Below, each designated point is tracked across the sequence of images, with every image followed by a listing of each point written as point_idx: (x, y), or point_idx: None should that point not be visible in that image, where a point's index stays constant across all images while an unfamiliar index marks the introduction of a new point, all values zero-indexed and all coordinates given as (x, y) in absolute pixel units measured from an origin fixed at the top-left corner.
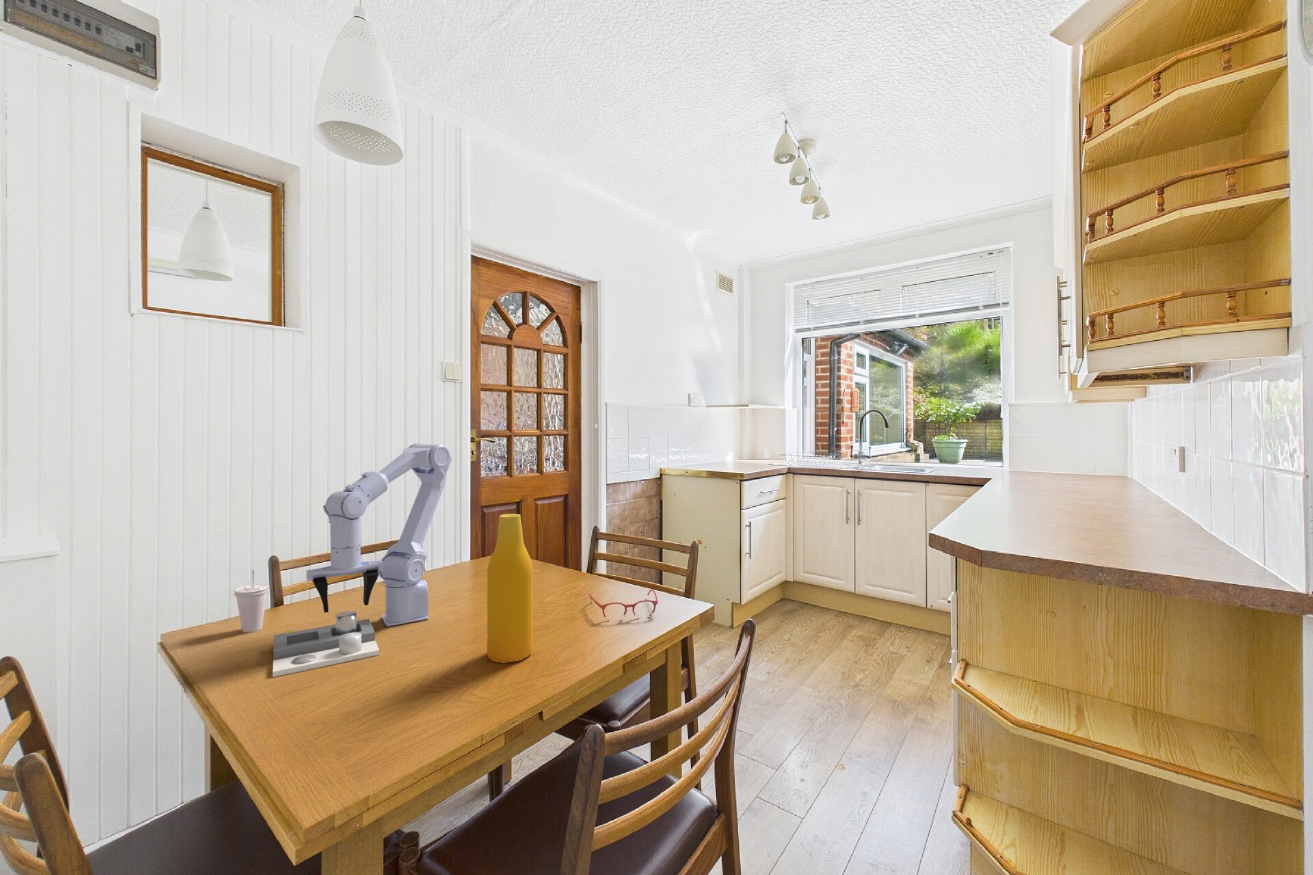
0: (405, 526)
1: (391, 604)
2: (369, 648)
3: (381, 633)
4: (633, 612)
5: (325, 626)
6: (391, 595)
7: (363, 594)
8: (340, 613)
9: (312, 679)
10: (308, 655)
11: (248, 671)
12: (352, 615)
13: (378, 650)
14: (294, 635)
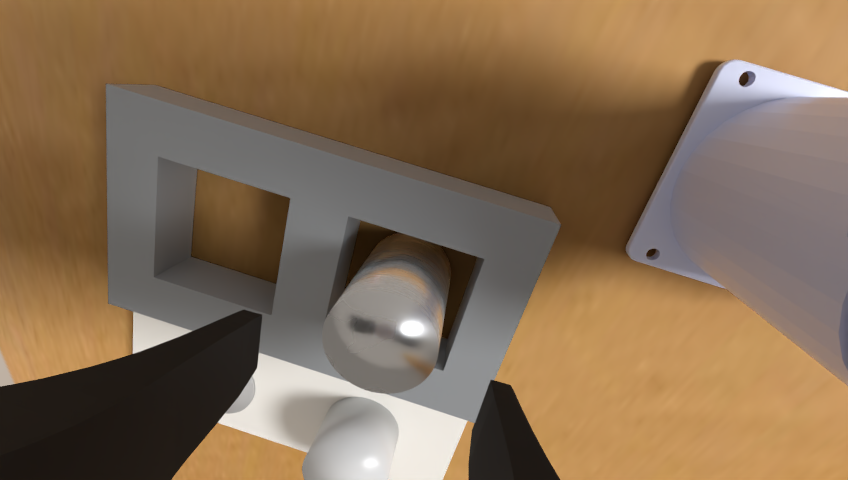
0: None
1: (734, 277)
2: (418, 460)
3: (557, 305)
4: None
5: (338, 156)
6: (783, 311)
7: (500, 416)
8: (358, 305)
9: (235, 475)
10: None
11: (81, 280)
12: (397, 391)
13: None
14: (192, 164)
